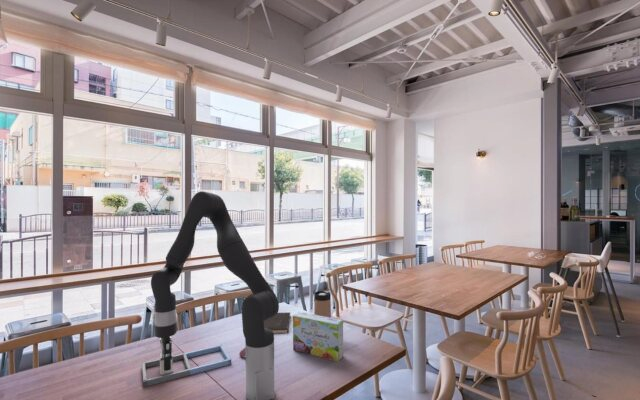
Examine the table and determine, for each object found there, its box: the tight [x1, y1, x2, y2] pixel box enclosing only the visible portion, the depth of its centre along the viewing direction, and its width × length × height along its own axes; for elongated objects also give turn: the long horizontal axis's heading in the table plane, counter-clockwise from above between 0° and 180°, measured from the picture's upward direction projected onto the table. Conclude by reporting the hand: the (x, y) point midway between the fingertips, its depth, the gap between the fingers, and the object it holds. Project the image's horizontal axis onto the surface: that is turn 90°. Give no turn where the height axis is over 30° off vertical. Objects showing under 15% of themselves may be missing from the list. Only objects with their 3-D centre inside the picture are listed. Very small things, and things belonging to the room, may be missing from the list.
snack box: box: [292, 311, 344, 362], centre depth 137 cm, size 21×6×15 cm, turn 62°
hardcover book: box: [264, 311, 291, 334], centre depth 169 cm, size 16×23×2 cm
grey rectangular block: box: [159, 353, 174, 376], centre depth 124 cm, size 4×4×6 cm
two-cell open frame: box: [141, 344, 232, 388], centre depth 128 cm, size 15×30×2 cm, turn 120°
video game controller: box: [239, 346, 246, 358], centre depth 139 cm, size 10×5×7 cm, turn 169°
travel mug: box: [313, 290, 332, 318], centre depth 153 cm, size 8×8×20 cm
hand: (166, 364), depth 125 cm, fingers open, 8 cm apart
